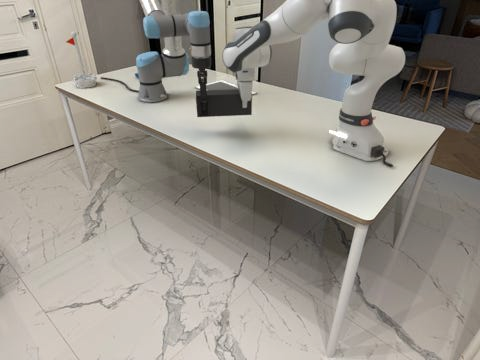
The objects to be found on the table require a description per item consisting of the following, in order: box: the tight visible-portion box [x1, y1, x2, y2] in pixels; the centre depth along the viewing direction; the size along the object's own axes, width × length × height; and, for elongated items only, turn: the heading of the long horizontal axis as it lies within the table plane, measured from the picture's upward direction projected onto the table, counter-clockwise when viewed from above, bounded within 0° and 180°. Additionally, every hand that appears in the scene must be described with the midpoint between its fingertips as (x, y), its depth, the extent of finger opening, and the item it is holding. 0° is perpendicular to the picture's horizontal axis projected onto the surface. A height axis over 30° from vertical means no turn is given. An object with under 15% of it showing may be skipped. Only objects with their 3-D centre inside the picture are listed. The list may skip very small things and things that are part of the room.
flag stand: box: [65, 31, 98, 89], centre depth 197 cm, size 13×13×30 cm
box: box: [195, 89, 253, 118], centre depth 141 cm, size 23×6×9 cm, turn 96°
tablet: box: [194, 79, 258, 96], centre depth 196 cm, size 32×20×1 cm, turn 41°
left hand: (204, 113), depth 143 cm, fingers closed on box, 6 cm apart
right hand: (243, 103), depth 142 cm, fingers closed on box, 6 cm apart
